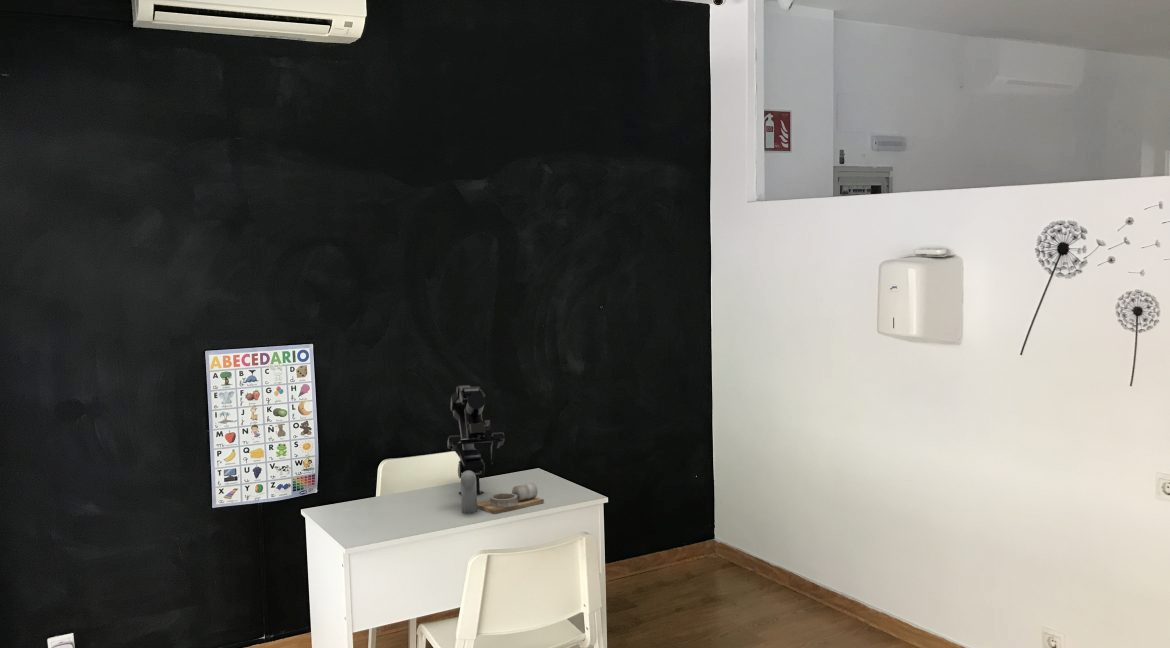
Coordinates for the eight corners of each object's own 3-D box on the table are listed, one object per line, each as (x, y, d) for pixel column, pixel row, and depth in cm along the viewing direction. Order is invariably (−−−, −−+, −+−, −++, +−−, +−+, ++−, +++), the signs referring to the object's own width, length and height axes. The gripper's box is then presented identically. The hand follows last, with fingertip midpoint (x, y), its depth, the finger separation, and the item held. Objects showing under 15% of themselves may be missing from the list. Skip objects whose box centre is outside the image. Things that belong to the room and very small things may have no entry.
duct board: (474, 507, 300) (473, 488, 300) (523, 496, 313) (522, 479, 312) (494, 514, 291) (493, 495, 291) (543, 502, 304) (543, 484, 303)
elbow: (461, 509, 297) (460, 469, 296) (477, 509, 298) (476, 468, 297) (461, 515, 290) (459, 473, 289) (476, 514, 291) (475, 473, 290)
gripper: (448, 413, 297) (452, 458, 290) (504, 409, 302) (509, 453, 295) (445, 426, 307) (449, 470, 299) (500, 422, 311) (505, 465, 304)
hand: (478, 464), depth 299 cm, fingers open, 9 cm apart
